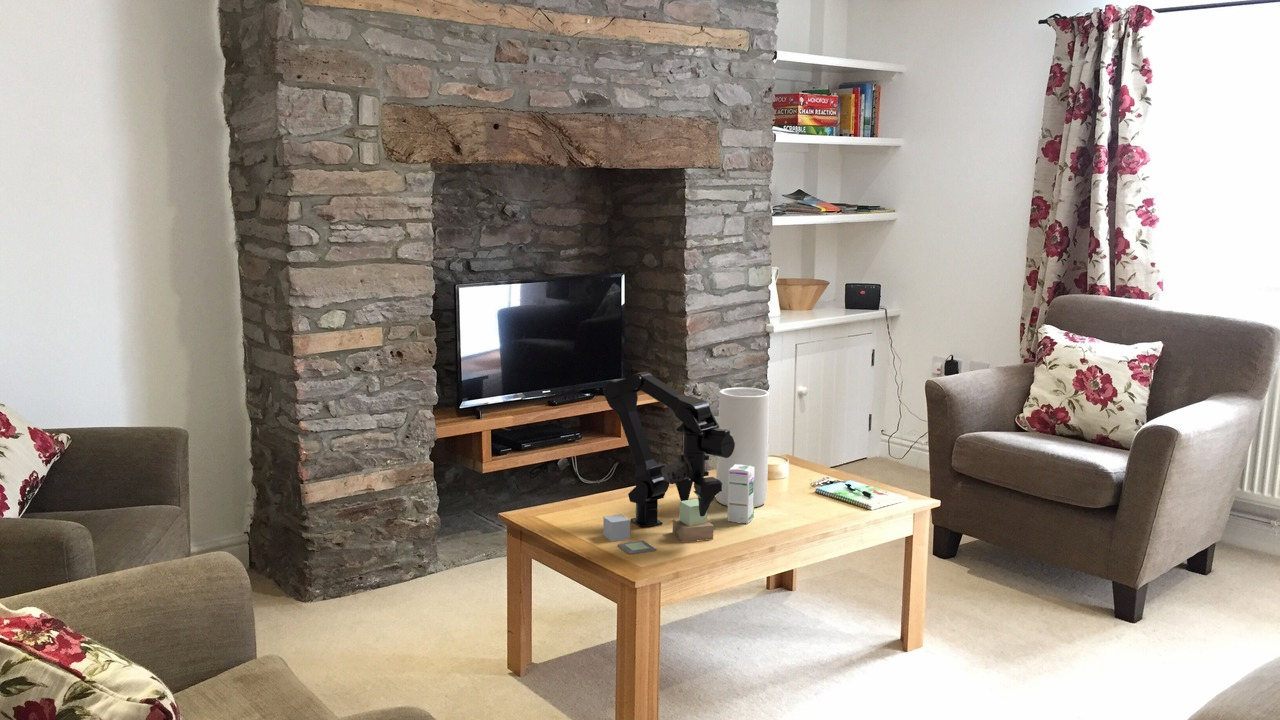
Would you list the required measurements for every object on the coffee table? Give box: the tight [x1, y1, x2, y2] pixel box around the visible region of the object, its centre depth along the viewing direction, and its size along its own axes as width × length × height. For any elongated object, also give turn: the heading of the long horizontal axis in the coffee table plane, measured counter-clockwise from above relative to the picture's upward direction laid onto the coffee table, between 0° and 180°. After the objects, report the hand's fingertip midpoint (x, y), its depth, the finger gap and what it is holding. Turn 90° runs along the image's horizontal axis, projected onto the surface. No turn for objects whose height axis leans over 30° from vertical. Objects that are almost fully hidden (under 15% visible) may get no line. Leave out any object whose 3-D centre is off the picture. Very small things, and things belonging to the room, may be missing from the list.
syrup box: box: [727, 464, 755, 525], centre depth 273 cm, size 6×6×14 cm
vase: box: [715, 387, 770, 508], centre depth 288 cm, size 14×14×32 cm
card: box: [617, 539, 657, 555], centre depth 251 cm, size 7×7×1 cm
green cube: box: [678, 498, 708, 526], centre depth 260 cm, size 5×5×5 cm
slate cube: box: [602, 513, 631, 542], centre depth 259 cm, size 5×5×5 cm
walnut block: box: [672, 517, 715, 543], centre depth 261 cm, size 8×8×4 cm
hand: (693, 511), depth 260 cm, fingers open, 9 cm apart
